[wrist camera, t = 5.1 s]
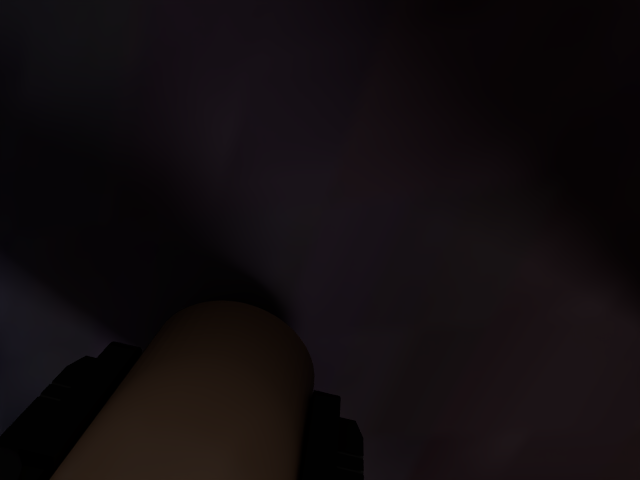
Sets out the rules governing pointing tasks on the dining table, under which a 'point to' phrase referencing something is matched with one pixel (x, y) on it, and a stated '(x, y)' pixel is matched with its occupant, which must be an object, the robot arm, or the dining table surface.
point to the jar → (205, 403)
